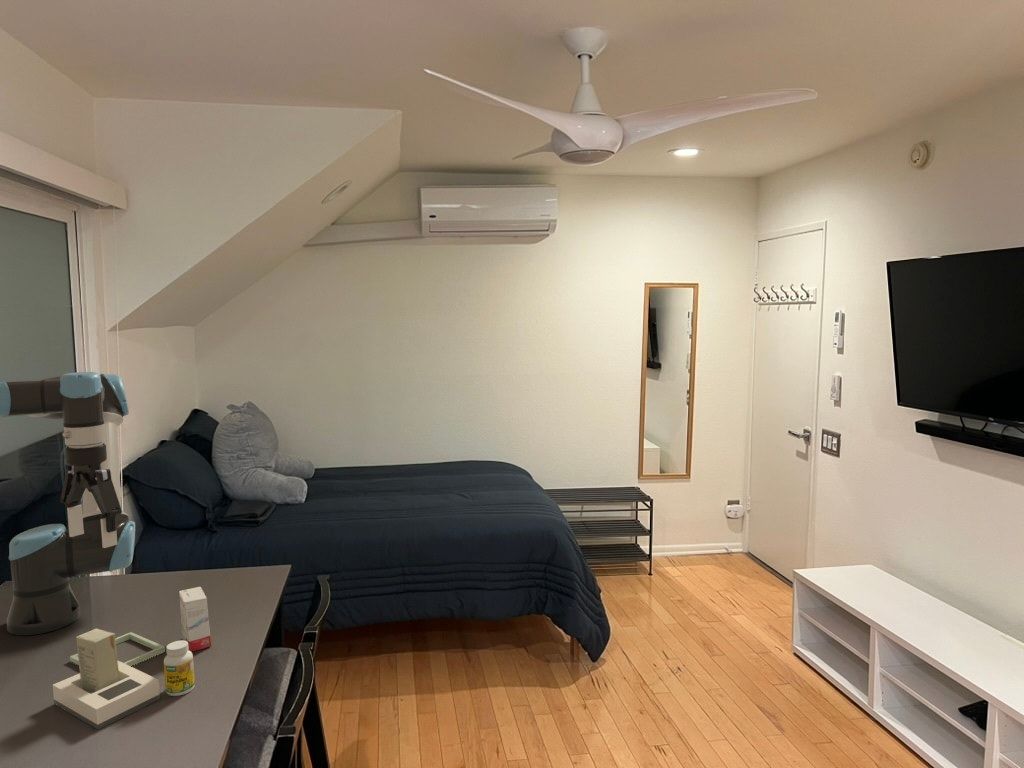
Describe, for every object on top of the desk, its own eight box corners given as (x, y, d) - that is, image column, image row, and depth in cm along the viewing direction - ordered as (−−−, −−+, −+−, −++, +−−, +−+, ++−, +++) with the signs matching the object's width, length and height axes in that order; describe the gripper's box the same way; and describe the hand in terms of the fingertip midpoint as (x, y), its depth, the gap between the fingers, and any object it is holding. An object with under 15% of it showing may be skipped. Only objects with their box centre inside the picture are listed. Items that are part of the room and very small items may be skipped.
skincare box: (121, 691, 142) (117, 633, 140) (100, 702, 138) (95, 642, 136) (101, 684, 144) (96, 626, 143) (80, 694, 141) (75, 635, 139)
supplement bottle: (197, 681, 147) (194, 637, 146) (191, 695, 142) (189, 649, 141) (169, 684, 146) (166, 640, 145) (162, 698, 141) (159, 652, 140)
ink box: (211, 647, 162) (208, 598, 160) (187, 653, 159) (184, 603, 157) (204, 632, 169) (201, 585, 167) (181, 638, 166) (178, 590, 165)
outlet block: (54, 704, 139) (52, 684, 139) (115, 676, 149) (114, 658, 149) (98, 729, 131) (96, 709, 130) (159, 698, 141) (158, 679, 140)
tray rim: (70, 661, 156) (69, 656, 155) (131, 636, 167) (130, 631, 167) (103, 678, 148) (103, 673, 148) (165, 651, 160) (164, 646, 160)
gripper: (37, 441, 155) (45, 535, 158) (98, 454, 142) (106, 556, 145) (73, 436, 162) (81, 526, 164) (135, 447, 149) (142, 545, 151)
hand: (93, 540), depth 154 cm, fingers open, 13 cm apart
